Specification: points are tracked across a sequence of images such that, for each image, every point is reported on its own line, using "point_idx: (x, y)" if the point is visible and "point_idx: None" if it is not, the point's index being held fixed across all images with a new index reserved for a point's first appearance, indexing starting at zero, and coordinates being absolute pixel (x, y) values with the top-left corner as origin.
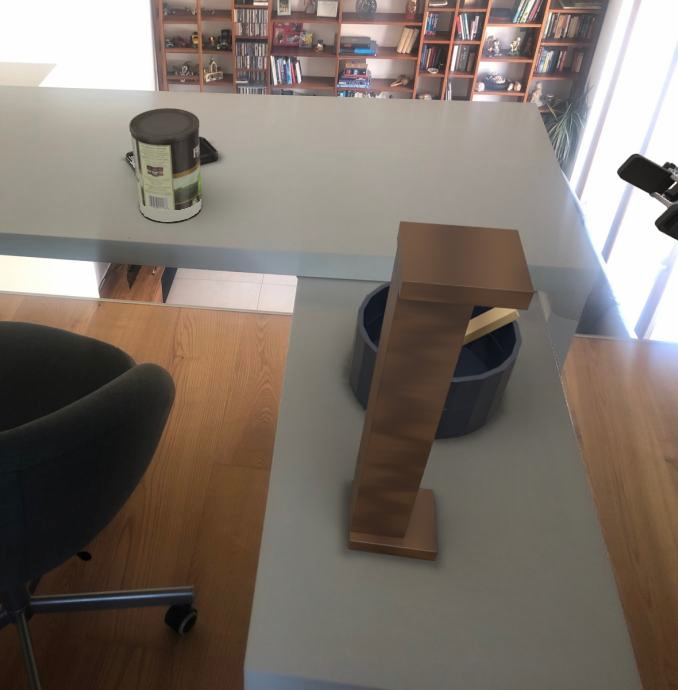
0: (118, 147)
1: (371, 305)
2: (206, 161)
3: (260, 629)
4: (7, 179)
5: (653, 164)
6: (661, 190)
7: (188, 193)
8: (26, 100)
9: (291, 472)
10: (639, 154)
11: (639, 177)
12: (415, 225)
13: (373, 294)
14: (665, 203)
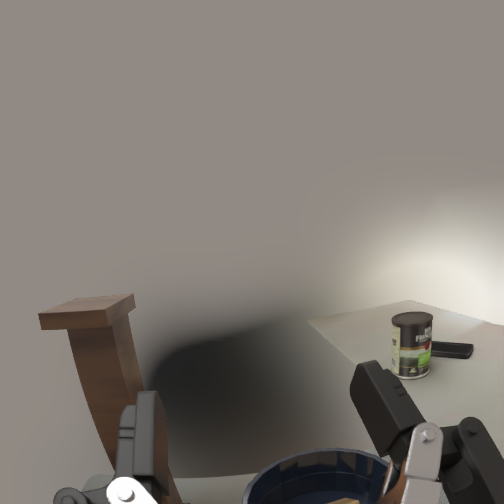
0: (434, 339)
1: (340, 458)
2: (459, 357)
3: (105, 475)
4: (375, 335)
5: (376, 390)
6: (395, 461)
7: (408, 362)
8: (432, 312)
9: (201, 482)
10: (377, 363)
11: (367, 410)
12: (126, 295)
13: (341, 450)
14: (383, 489)
